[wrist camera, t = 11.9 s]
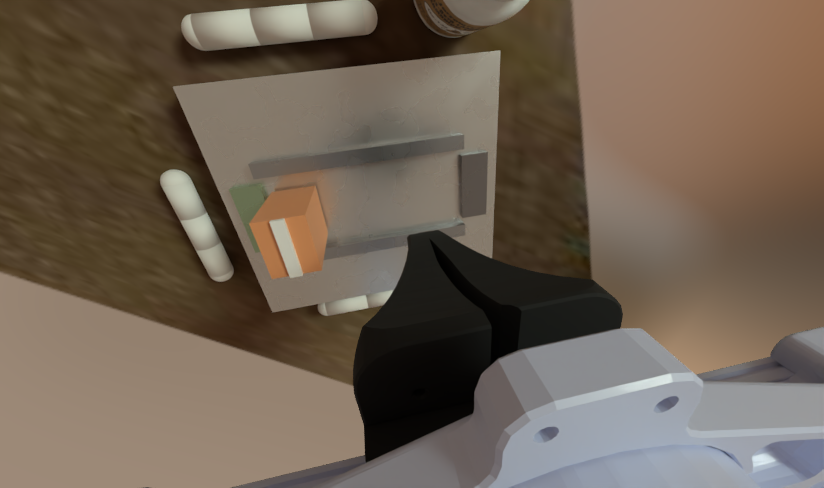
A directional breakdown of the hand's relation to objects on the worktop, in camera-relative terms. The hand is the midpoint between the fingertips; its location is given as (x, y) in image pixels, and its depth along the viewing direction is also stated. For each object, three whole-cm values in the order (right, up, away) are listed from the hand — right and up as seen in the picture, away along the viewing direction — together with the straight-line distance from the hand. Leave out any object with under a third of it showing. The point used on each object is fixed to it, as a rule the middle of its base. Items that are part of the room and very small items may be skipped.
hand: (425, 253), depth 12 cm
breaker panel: (-3, +4, +7) cm, 9 cm away
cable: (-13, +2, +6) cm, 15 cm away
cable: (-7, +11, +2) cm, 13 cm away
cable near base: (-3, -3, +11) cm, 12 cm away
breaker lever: (-7, +2, +5) cm, 9 cm away
